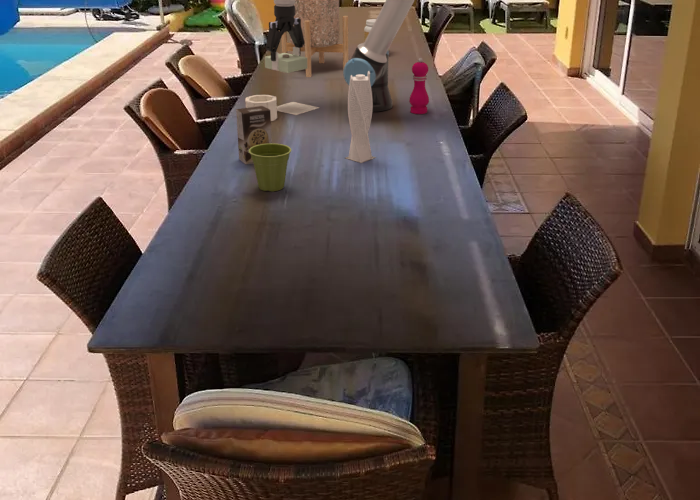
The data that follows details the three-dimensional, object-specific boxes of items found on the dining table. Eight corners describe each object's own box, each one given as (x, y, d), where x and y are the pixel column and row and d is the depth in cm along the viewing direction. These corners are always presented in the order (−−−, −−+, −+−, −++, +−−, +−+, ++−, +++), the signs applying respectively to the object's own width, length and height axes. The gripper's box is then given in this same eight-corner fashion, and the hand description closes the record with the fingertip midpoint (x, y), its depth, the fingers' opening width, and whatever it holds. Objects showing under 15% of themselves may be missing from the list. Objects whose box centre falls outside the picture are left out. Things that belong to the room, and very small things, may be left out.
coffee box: (245, 165, 241) (242, 113, 234) (238, 159, 246) (234, 108, 239) (273, 160, 245) (270, 109, 238) (265, 154, 250) (262, 104, 243)
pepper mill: (427, 115, 289) (429, 60, 281) (407, 114, 291) (409, 59, 282) (429, 109, 296) (431, 56, 287) (410, 108, 297) (411, 55, 288)
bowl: (283, 118, 287) (282, 98, 283) (261, 125, 279) (260, 104, 276) (262, 113, 293) (261, 93, 290) (240, 119, 285) (239, 99, 282)
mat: (319, 108, 298) (319, 107, 298) (296, 116, 289) (296, 115, 289) (292, 102, 306) (292, 101, 306) (269, 109, 297) (268, 108, 297)
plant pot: (276, 198, 216) (274, 159, 211) (242, 190, 222) (239, 151, 217) (301, 185, 225) (299, 147, 220) (268, 177, 231) (266, 140, 226)
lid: (307, 68, 289) (307, 55, 287) (287, 73, 282) (287, 59, 280) (284, 63, 296) (284, 50, 294) (265, 67, 290) (264, 54, 288)
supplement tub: (389, 58, 378) (390, 22, 371) (364, 58, 378) (364, 22, 371) (388, 53, 389) (389, 18, 382) (364, 53, 389) (364, 18, 382)
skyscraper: (379, 159, 245) (380, 69, 233) (362, 166, 240) (362, 74, 228) (359, 153, 251) (359, 65, 239) (342, 160, 245) (341, 70, 233)
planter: (350, 70, 356) (348, -4, 342) (307, 78, 345) (304, 1, 330) (323, 62, 373) (320, -10, 359) (281, 69, 361) (277, -5, 347)
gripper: (299, 0, 289) (300, 61, 299) (253, 7, 274) (256, 70, 284) (314, 2, 285) (314, 64, 295) (268, 9, 270) (270, 74, 279)
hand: (286, 67), depth 289 cm, fingers closed on lid, 10 cm apart
